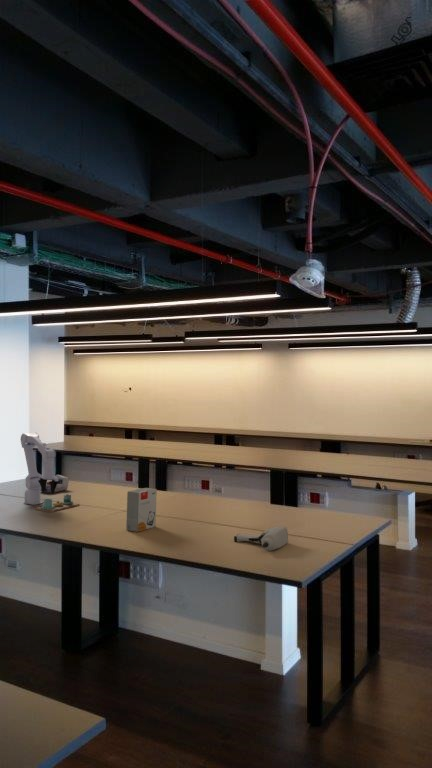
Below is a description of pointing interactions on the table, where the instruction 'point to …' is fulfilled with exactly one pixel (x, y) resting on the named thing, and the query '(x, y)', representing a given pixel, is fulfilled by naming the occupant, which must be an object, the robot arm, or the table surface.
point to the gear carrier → (61, 504)
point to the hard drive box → (141, 509)
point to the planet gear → (47, 504)
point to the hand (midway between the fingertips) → (48, 492)
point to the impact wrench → (267, 538)
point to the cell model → (60, 486)
